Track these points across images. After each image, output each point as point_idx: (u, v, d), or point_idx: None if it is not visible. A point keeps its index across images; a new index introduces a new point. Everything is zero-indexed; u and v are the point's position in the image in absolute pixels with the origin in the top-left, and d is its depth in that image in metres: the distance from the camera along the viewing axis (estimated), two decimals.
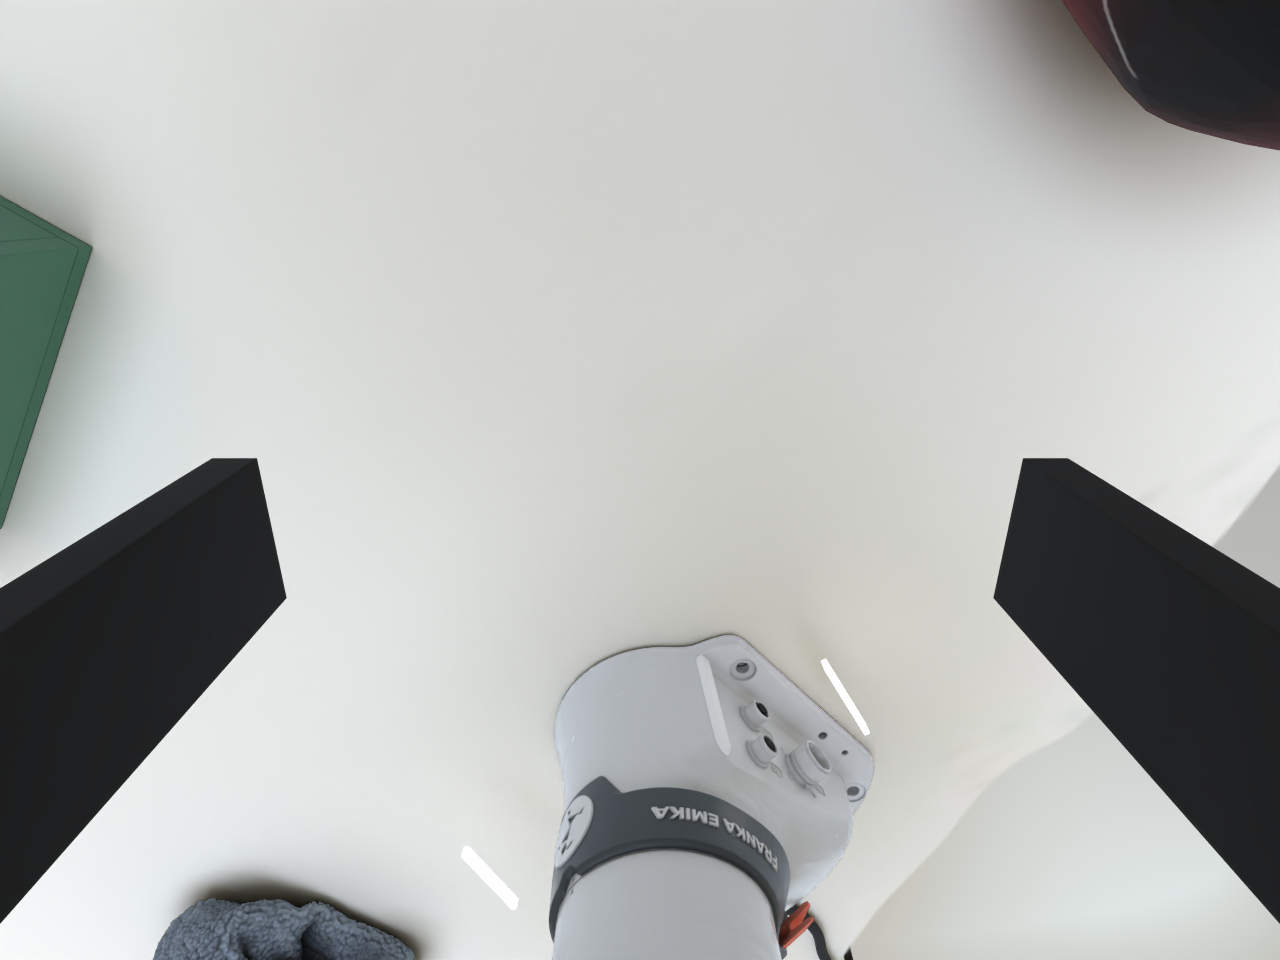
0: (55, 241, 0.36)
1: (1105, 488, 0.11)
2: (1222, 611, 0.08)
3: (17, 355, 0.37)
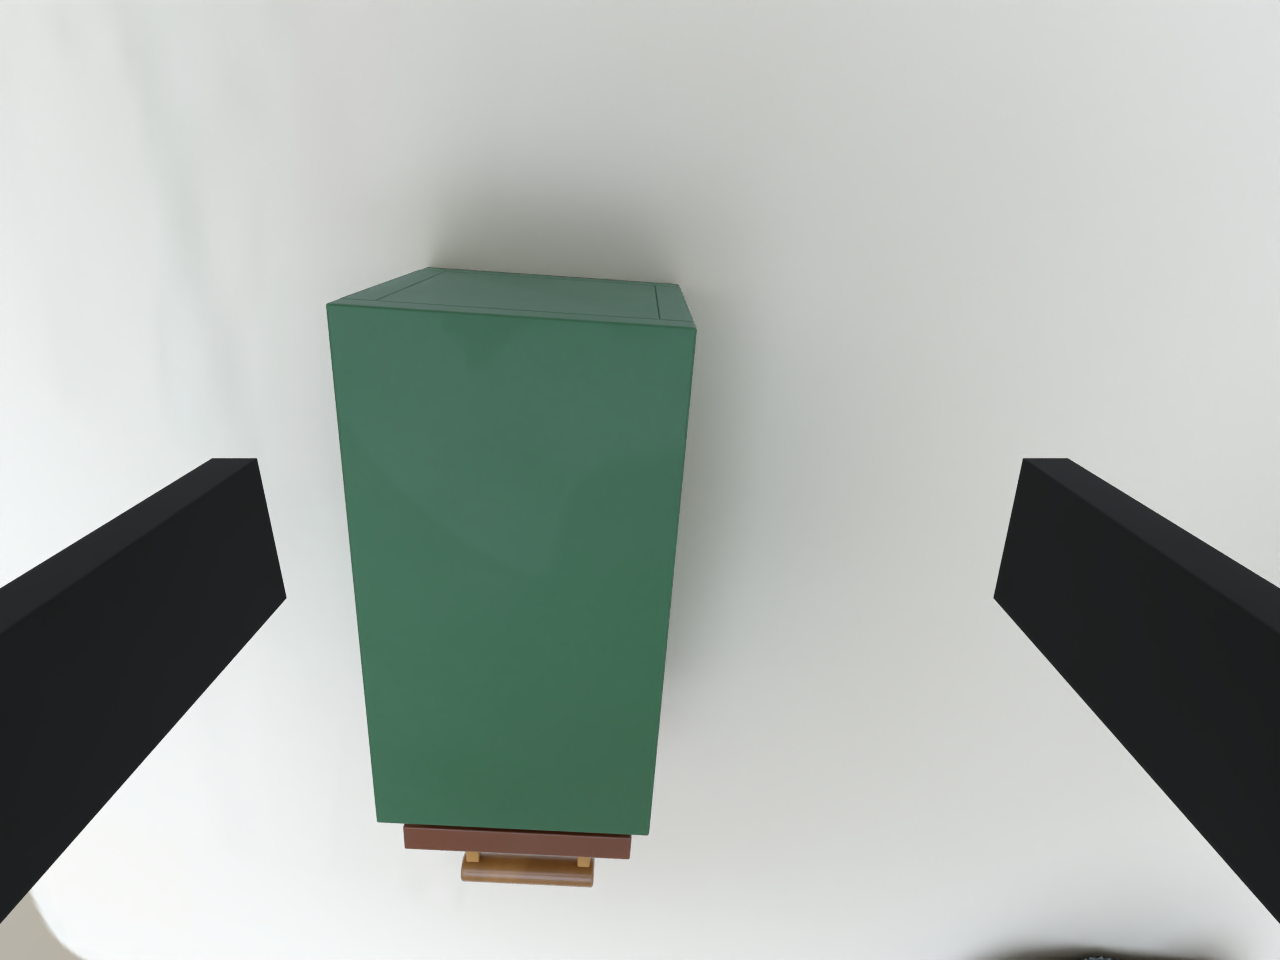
0: (664, 288, 0.28)
1: (1105, 488, 0.11)
2: (1222, 611, 0.08)
3: None
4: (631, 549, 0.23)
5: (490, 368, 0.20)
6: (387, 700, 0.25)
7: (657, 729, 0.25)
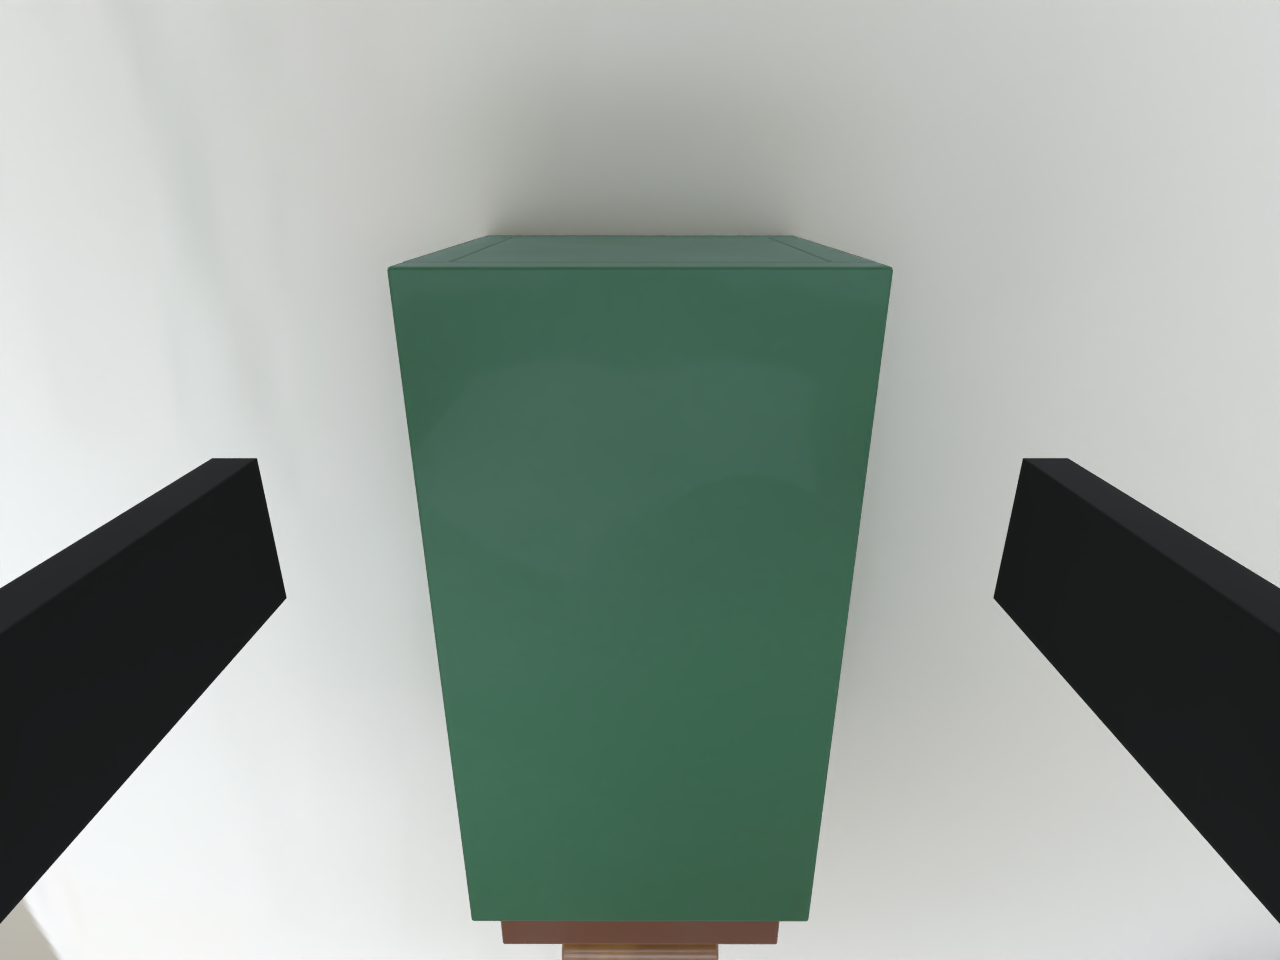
0: (785, 239, 0.22)
1: (1105, 488, 0.11)
2: (1222, 611, 0.08)
3: None
4: (796, 571, 0.17)
5: (610, 342, 0.15)
6: (482, 777, 0.20)
7: (823, 795, 0.20)
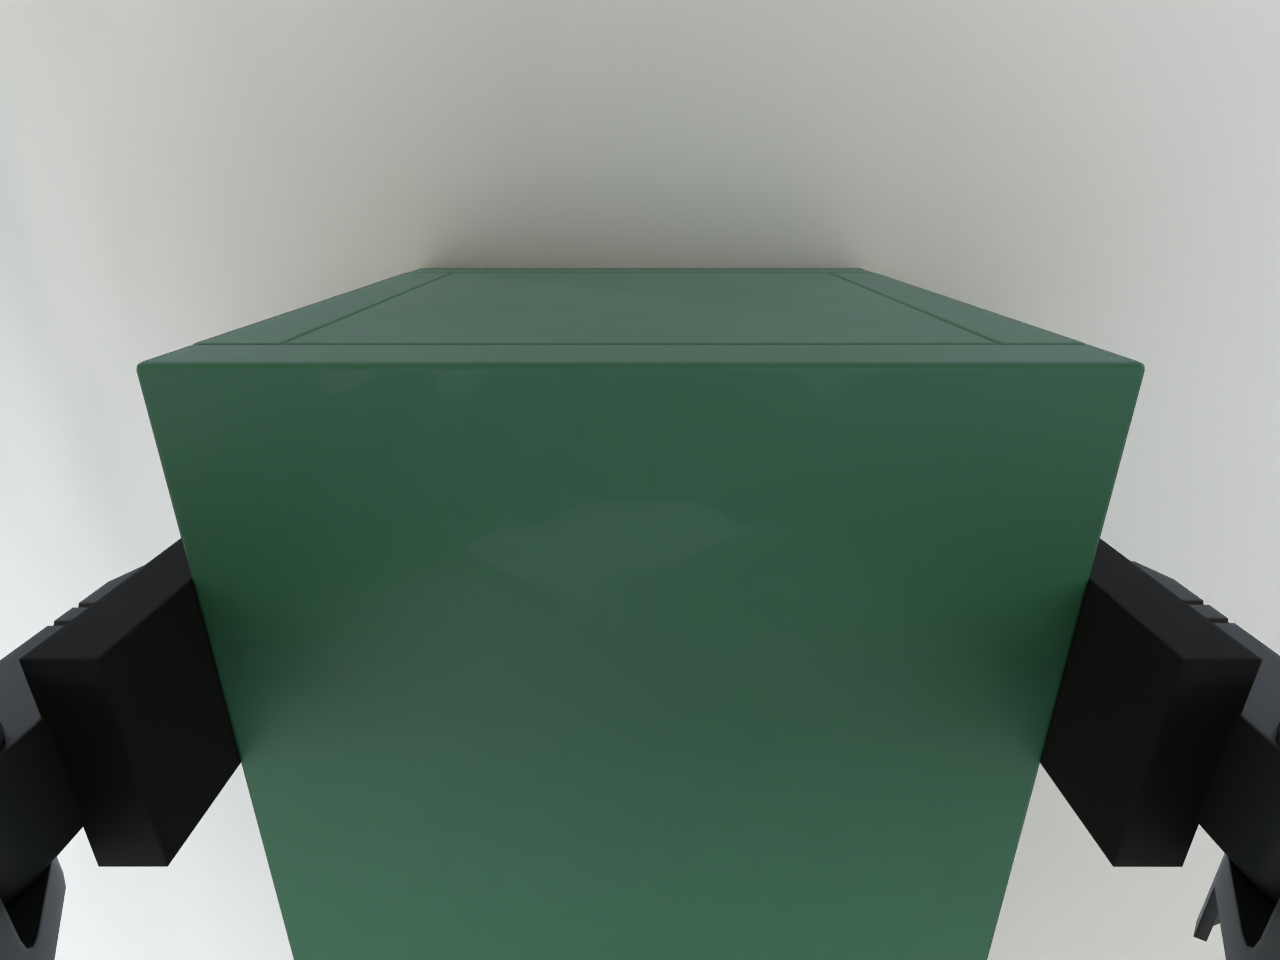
0: (855, 275, 0.15)
1: None
2: None
3: None
4: (912, 868, 0.10)
5: (583, 502, 0.08)
6: None
7: None
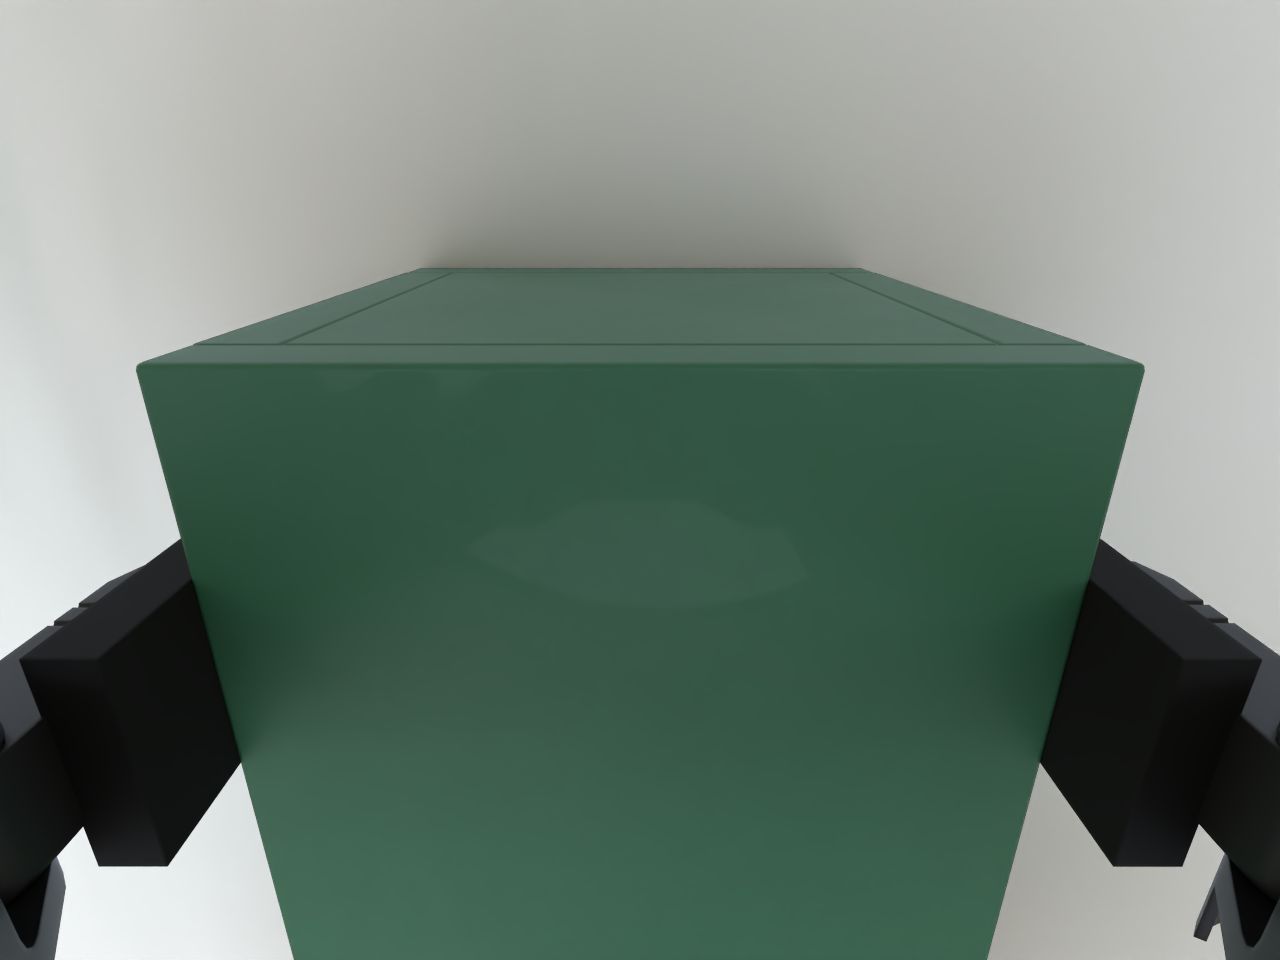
0: (855, 276, 0.15)
1: None
2: None
3: None
4: (912, 869, 0.10)
5: (583, 503, 0.08)
6: None
7: None
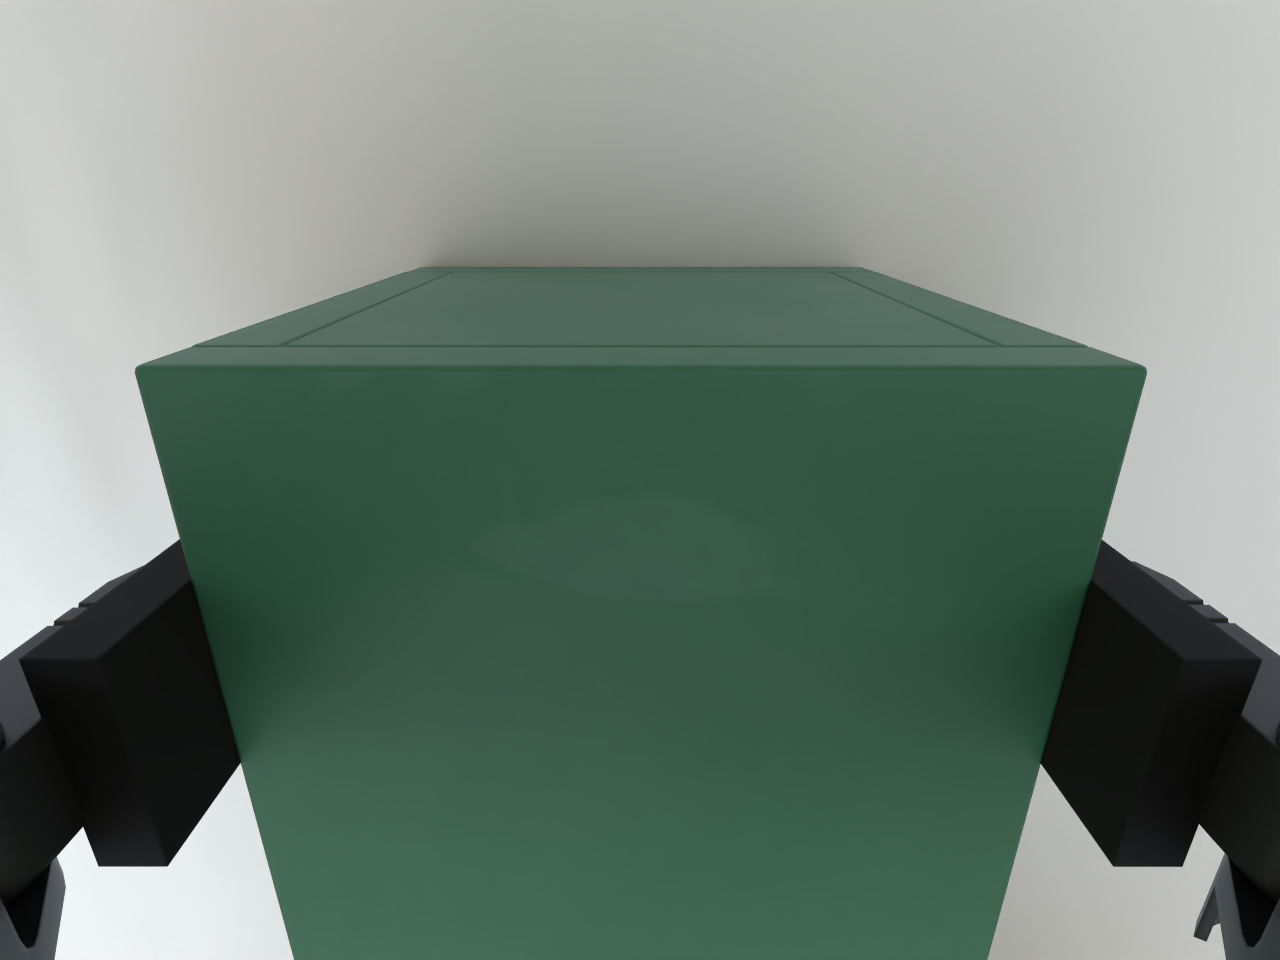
0: (856, 275, 0.15)
1: None
2: None
3: None
4: (912, 870, 0.10)
5: (583, 505, 0.08)
6: None
7: None
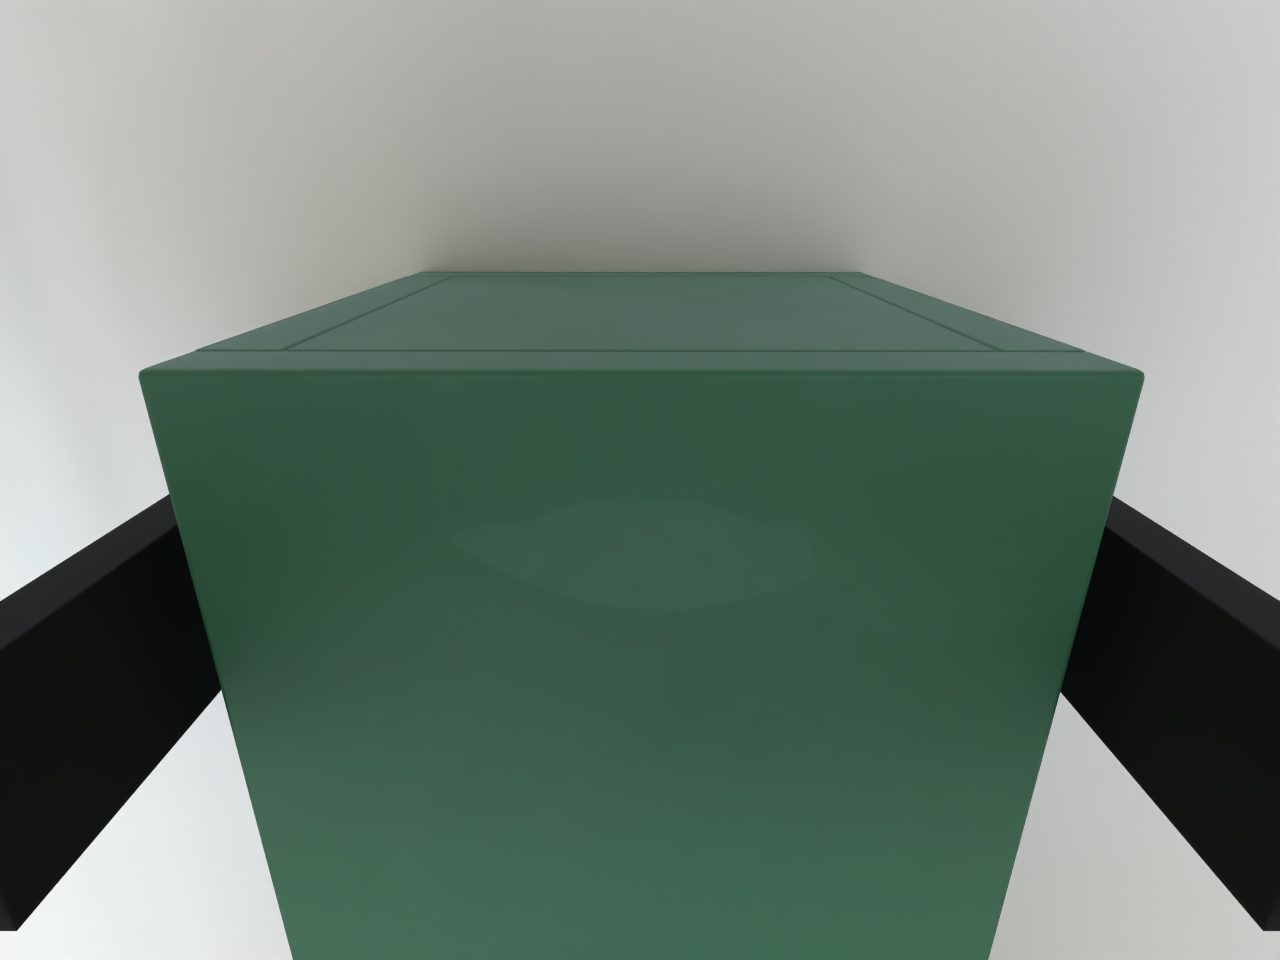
0: (854, 280, 0.15)
1: None
2: (1189, 602, 0.08)
3: None
4: (913, 874, 0.10)
5: (584, 509, 0.08)
6: None
7: None
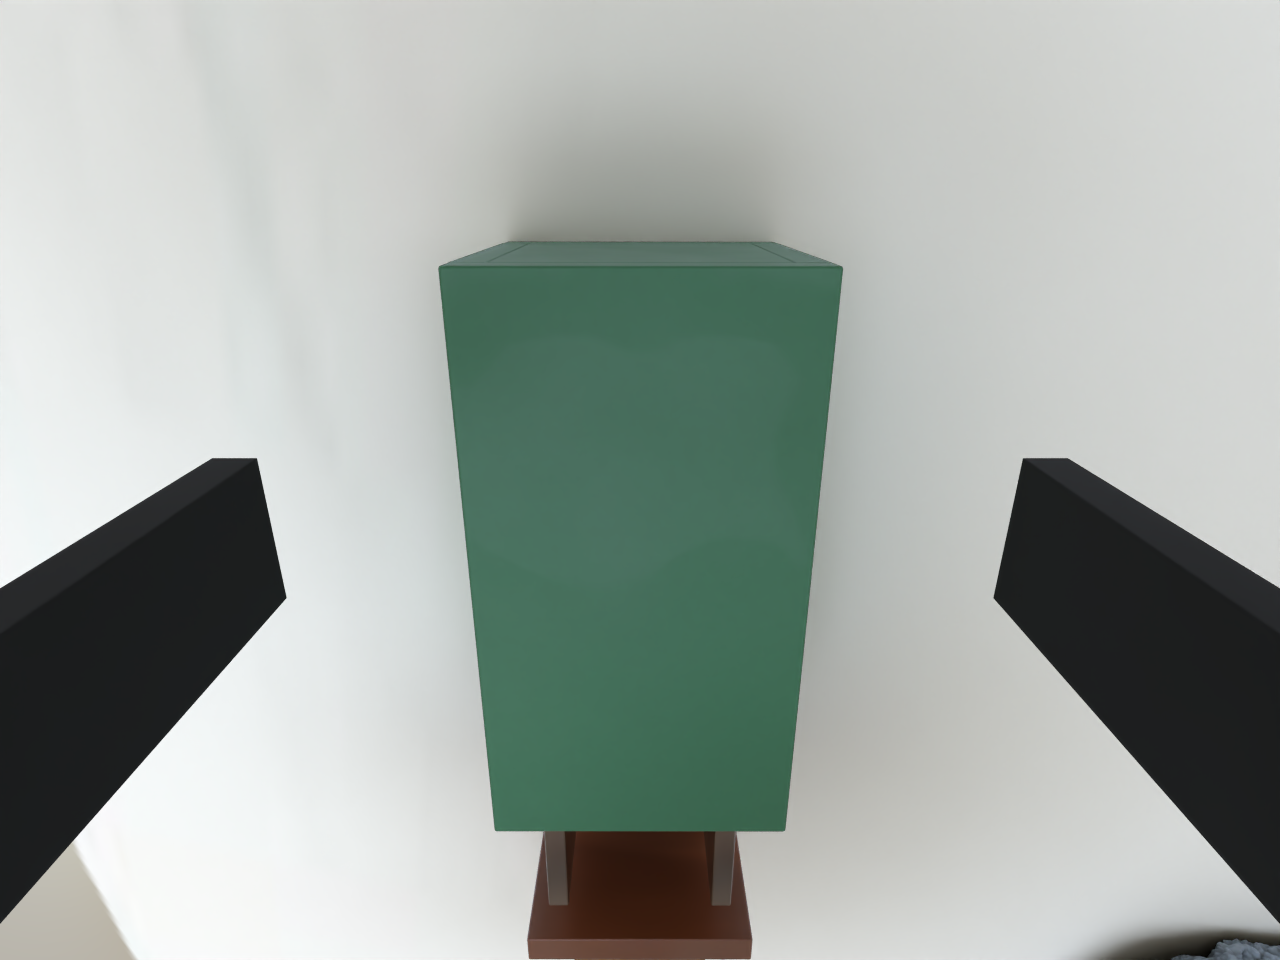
0: (764, 244, 0.26)
1: (1105, 488, 0.11)
2: (1222, 611, 0.08)
3: None
4: (769, 518, 0.21)
5: (617, 326, 0.19)
6: (506, 699, 0.23)
7: (795, 715, 0.23)
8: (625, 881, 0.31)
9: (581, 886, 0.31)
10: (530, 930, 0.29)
